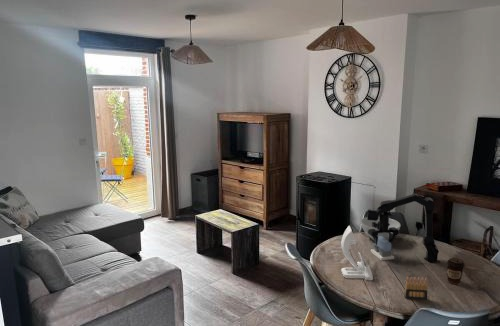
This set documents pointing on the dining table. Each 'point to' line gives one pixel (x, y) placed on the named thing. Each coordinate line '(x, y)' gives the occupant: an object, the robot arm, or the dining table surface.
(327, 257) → the dining table surface
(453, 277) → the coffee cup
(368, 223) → the decorative bowl
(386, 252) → the white grey bracket mount
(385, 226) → the robot arm
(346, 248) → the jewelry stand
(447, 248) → the dining table surface
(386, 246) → the blue tapered block
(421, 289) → the ammunition clip
